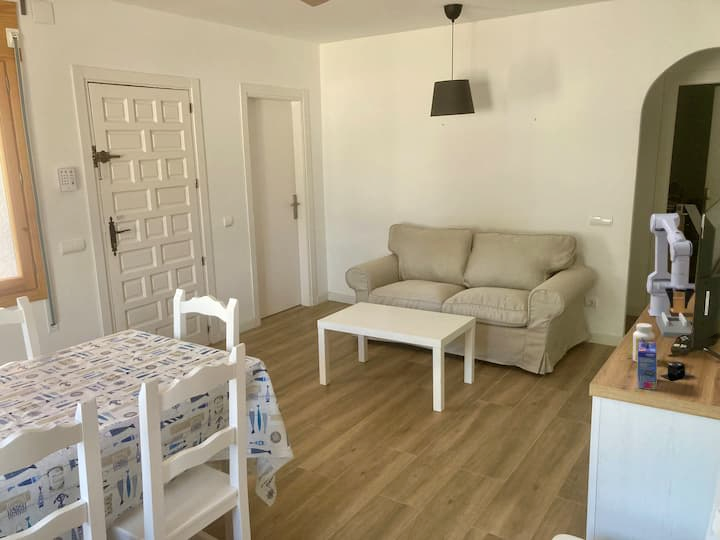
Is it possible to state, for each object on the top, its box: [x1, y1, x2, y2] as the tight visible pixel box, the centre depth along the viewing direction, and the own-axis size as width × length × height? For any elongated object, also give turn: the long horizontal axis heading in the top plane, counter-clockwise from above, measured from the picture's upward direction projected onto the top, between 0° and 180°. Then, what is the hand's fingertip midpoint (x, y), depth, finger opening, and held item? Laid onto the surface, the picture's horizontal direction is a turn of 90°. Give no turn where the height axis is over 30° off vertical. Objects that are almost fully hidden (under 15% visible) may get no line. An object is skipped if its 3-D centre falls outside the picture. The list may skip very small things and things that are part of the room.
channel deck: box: [655, 312, 693, 338], centre depth 225 cm, size 22×11×4 cm, turn 160°
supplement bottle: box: [632, 322, 656, 363], centre depth 194 cm, size 7×7×13 cm
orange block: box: [670, 297, 686, 314], centre depth 219 cm, size 4×4×5 cm
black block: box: [659, 361, 695, 382], centre depth 181 cm, size 12×7×5 cm, turn 109°
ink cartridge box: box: [636, 338, 658, 391], centre depth 176 cm, size 10×6×14 cm, turn 155°
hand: (678, 307), depth 218 cm, fingers closed on orange block, 4 cm apart
